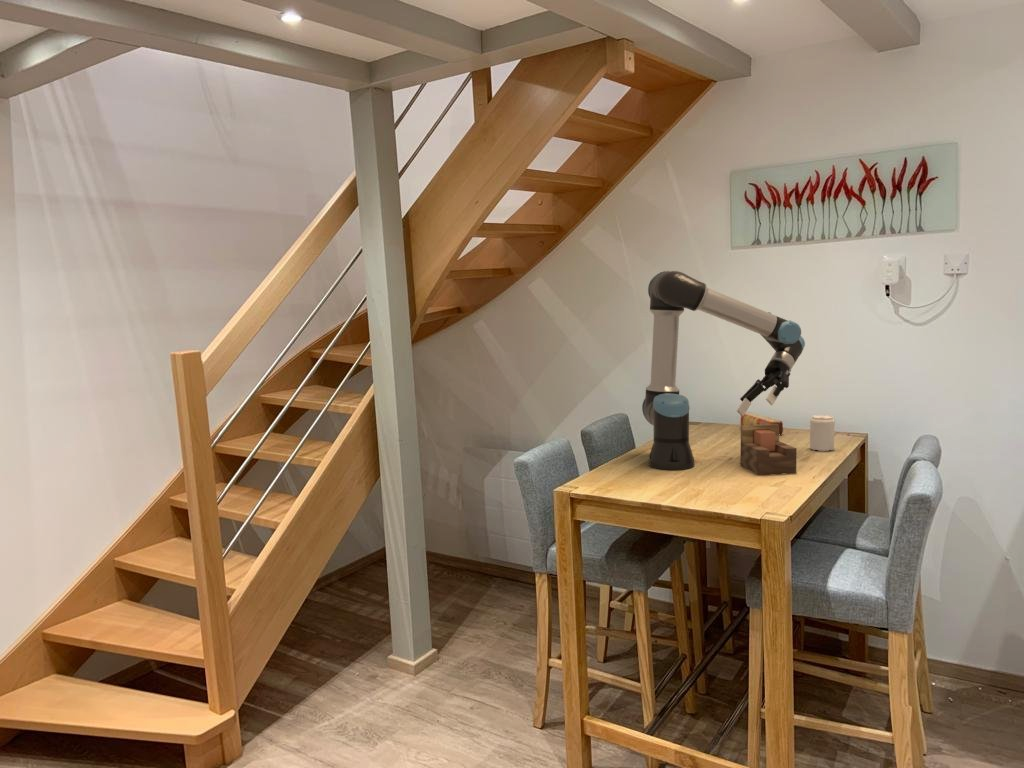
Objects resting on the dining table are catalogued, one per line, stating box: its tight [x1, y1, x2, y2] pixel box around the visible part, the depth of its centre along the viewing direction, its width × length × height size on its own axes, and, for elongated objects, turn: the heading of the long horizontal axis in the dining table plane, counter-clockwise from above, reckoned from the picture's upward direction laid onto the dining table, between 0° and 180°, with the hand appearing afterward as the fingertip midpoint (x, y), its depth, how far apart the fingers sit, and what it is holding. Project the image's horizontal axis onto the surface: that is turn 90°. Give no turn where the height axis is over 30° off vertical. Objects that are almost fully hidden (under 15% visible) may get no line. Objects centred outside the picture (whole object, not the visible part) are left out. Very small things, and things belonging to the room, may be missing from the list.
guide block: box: [740, 424, 798, 476], centre depth 260 cm, size 14×12×14 cm
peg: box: [753, 429, 775, 451], centre depth 266 cm, size 14×5×6 cm, turn 8°
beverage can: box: [809, 414, 836, 452], centre depth 287 cm, size 8×8×12 cm
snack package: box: [740, 411, 784, 435], centre depth 324 cm, size 21×7×7 cm, turn 17°
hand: (754, 408), depth 265 cm, fingers open, 13 cm apart
